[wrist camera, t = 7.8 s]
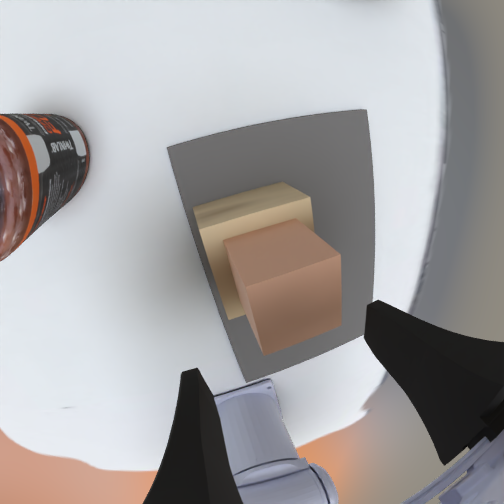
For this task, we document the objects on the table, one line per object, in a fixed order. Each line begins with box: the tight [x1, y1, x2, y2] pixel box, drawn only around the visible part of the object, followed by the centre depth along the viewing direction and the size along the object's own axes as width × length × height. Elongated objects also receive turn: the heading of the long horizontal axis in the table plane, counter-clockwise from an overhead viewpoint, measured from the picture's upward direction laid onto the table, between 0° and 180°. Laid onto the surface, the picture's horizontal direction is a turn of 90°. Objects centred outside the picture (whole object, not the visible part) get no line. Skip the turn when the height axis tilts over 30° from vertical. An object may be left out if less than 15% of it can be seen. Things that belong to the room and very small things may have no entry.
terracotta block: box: [223, 218, 342, 356], centre depth 14 cm, size 4×4×4 cm
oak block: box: [193, 182, 315, 320], centre depth 17 cm, size 6×6×4 cm
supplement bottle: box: [0, 114, 89, 261], centre depth 9 cm, size 6×6×11 cm
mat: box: [167, 110, 375, 383], centre depth 22 cm, size 22×14×1 cm, turn 12°
